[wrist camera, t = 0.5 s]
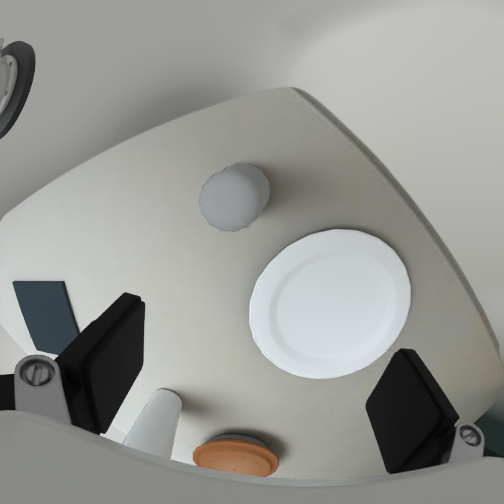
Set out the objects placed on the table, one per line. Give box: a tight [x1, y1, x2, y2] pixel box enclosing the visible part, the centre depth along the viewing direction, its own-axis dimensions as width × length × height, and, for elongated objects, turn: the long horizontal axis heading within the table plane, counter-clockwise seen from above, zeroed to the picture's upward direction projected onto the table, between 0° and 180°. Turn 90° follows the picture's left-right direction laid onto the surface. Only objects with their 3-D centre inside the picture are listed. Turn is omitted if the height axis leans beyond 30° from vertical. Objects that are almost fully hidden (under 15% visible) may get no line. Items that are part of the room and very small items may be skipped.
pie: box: [193, 434, 279, 477], centre depth 41 cm, size 15×16×5 cm
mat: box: [12, 281, 80, 355], centre depth 37 cm, size 14×14×1 cm
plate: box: [249, 229, 411, 379], centre depth 33 cm, size 21×21×2 cm
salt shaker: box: [199, 163, 270, 232], centre depth 24 cm, size 6×6×13 cm
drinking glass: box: [123, 389, 182, 459], centre depth 33 cm, size 7×7×15 cm
